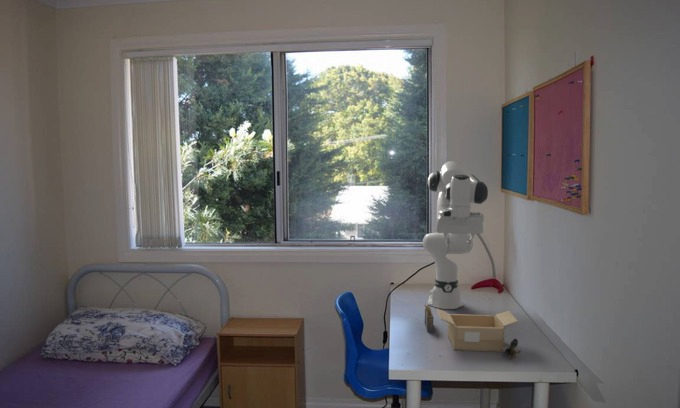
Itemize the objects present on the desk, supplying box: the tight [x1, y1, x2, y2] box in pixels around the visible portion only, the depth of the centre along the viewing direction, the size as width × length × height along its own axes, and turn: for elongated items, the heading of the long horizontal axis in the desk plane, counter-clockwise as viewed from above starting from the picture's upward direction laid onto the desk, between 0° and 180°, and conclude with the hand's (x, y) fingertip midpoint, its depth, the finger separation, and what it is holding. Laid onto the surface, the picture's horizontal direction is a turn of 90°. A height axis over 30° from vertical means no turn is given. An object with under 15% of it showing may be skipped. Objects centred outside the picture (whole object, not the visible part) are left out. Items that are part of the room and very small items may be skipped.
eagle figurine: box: [502, 338, 522, 361], centre depth 191 cm, size 8×7×9 cm
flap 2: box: [494, 310, 519, 328], centre depth 202 cm, size 13×1×6 cm
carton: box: [447, 313, 505, 352], centre depth 203 cm, size 16×20×10 cm
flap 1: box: [435, 307, 454, 325], centre depth 203 cm, size 13×1×6 cm
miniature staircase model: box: [424, 304, 434, 333], centre depth 221 cm, size 11×3×10 cm, turn 176°
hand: (458, 243), depth 210 cm, fingers open, 8 cm apart
